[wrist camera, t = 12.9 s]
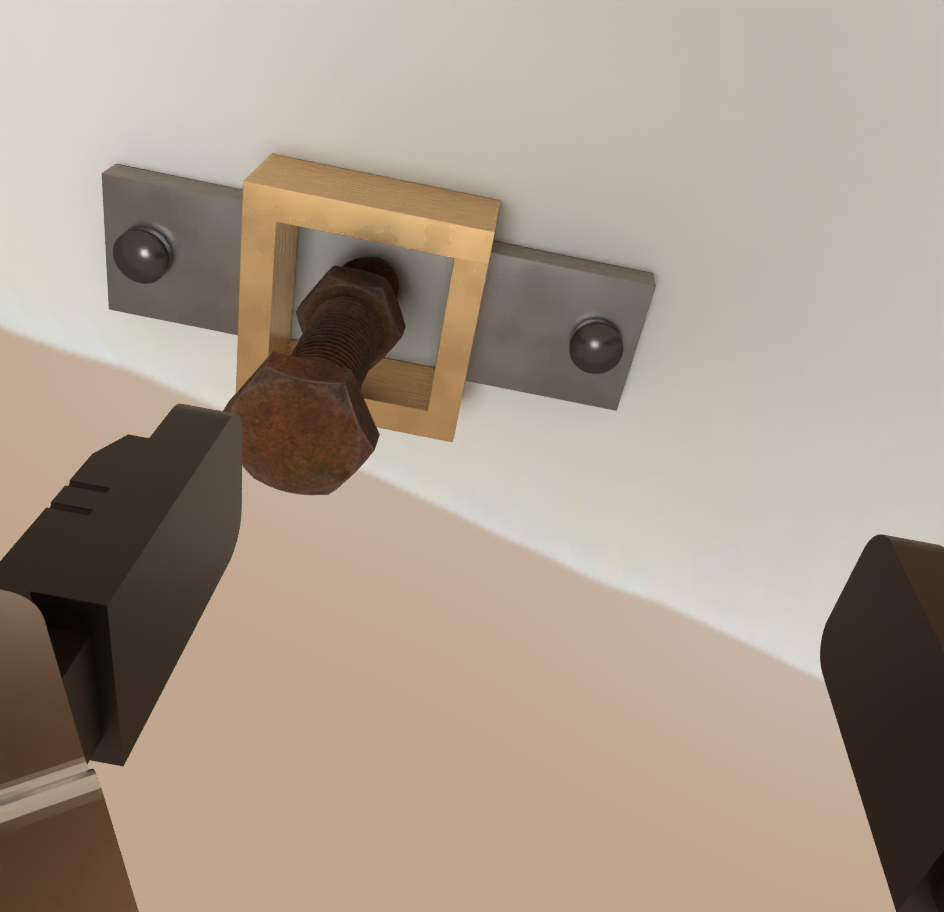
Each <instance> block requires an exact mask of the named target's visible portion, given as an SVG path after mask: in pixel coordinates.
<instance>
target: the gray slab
mask: <svg viewBox="0 0 944 912" xmlns="http://www.w3.org/2000/svg"><path fill="white" fill-rule="evenodd" d="M102 187H103V206H104V225H105V244H106V263H107V281H108V300H109V309H110V310H115V311H120V312H125V313H130V314H135V315H140V316H145V317H150V318H155V319H160V320H165V321H170V322H175V323H180V324H185V325H190V326H195V327H200V328H205V329H210V330H215V331H220V332H225V333H230V334H235V335H238V320H239V292H240V264H241V235H242V207H243V190H241V189H236V188H231V187H226V186H222V185H217V184H212V183H207V182H202V181H197V180H192V179H187V178H182V177H177V176H173V175H168V174H163V173H158V172H153V171H148V170H143V169H138V168H133V167H128V166H124V165H119V164H115V165H114V166H112V167H111V168H109V169H108V170H106V171H104V172H103V173H102Z"/></svg>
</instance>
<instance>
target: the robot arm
mask: <svg viewBox="0 0 944 912" xmlns="http://www.w3.org/2000/svg"><path fill="white" fill-rule="evenodd" d="M241 506H242V422H241V419H240V416H239V415H238V414H234V413H228V412H223V411H217V410H212V409H207V408H201V407H196V406H190V405H184V404H177V405H176V406H174V408H172V410H171V411H170V412H169V414H168V415H167V416H166V417H165V419H164V420H163V421H162V423H161V424H160V425H159V426H158V428H157V429H156V430H155V432H154V433H153V434H152V436H151V437H150V438H144V437H138V436H133V435H127V436H125V437H123V438H121V439H119V440H117V441H115V442H114V443H112V444H110V445H108V446H106V447H104V448H103V449H101V450H99V451H97V452H95V453H93V454H92V455H91V456H90V457H89V458H88V460H87V461H86V462H85V463H84V464H83V466H82V467H81V468H80V469H79V470H78V471H77V472H76V474H75V475H74V476H73V477H72V478H71V479H70V483H69V486H64V488H63V489H62V490H61V491H60V492H59V493H58V495H57V496H56V497H55V498H54V499H53V501H52V502H51V507H50V508H46V509H45V510H44V511H43V512H42V513H41V514H40V516H39V517H38V518H37V519H36V520H35V521H34V523H33V524H32V525H31V526H30V527H29V529H27V531H26V532H25V533H24V534H23V535H22V536H21V538H20V539H19V540H18V541H17V542H16V543H15V545H14V546H13V547H12V548H11V549H10V551H9V552H8V553H7V554H6V555H5V556H4V557H3V559H2V560H1V561H0V912H139V911H138V908H137V905H136V901H135V898H134V895H133V891H132V888H131V885H130V881H129V878H128V875H127V871H126V868H125V865H124V861H123V858H122V855H121V851H120V848H119V845H118V841H117V838H116V835H115V831H114V828H113V825H112V821H111V818H110V815H109V811H108V808H107V805H106V801H105V798H104V795H103V792H102V788H101V786H100V783H99V780H98V777H97V775H96V773H95V770H94V769H90V770H89V769H88V766H87V764H88V762H89V761H90V760H92V761H97V762H102V763H109V764H114V765H119V766H124V764H125V762H126V760H127V758H128V757H129V755H130V753H131V751H132V749H133V747H134V745H135V743H136V741H137V739H138V737H139V735H140V733H141V731H142V730H143V728H144V726H145V724H146V722H147V720H148V718H149V716H150V714H151V712H152V710H153V708H154V706H155V704H156V702H157V701H158V699H159V696H160V695H161V693H162V691H163V689H164V687H165V685H166V683H167V681H168V679H169V677H170V675H171V673H172V672H173V669H174V668H175V666H176V664H177V662H178V660H179V658H180V656H181V654H182V652H183V650H184V648H185V646H186V644H187V642H188V640H189V639H190V637H191V635H192V633H193V631H194V629H195V627H196V625H197V623H198V621H199V619H200V618H201V616H202V613H203V612H204V610H205V608H206V606H207V604H208V602H209V600H210V598H211V596H212V594H213V592H214V591H215V589H216V587H217V585H218V583H219V581H220V579H221V577H222V575H223V573H224V571H225V569H226V567H227V565H228V563H229V561H230V559H231V557H232V554H233V552H234V548H235V545H236V542H237V538H238V534H239V529H240V521H241V509H242V507H241ZM820 663H821V669H822V673H823V677H824V680H825V683H826V686H827V690H828V693H829V696H830V699H831V703H832V706H833V709H834V712H835V715H836V719H837V722H838V725H839V728H840V732H841V735H842V738H843V741H844V744H845V748H846V751H847V754H848V758H849V761H850V764H851V767H852V770H853V774H854V777H855V780H856V783H857V787H858V790H859V793H860V796H861V800H862V803H863V806H864V809H865V812H866V815H867V819H868V822H869V825H870V828H871V832H872V835H873V838H874V841H875V845H876V848H877V851H878V854H879V857H880V861H881V864H882V867H883V870H884V874H885V877H886V880H887V883H888V887H889V890H890V893H891V896H892V900H893V903H894V906H895V909H896V912H944V547H943V546H940V545H936V544H931V543H925V542H920V541H915V540H909V539H904V538H898V537H893V536H887V535H881V534H880V535H876V536H874V537H873V538H872V539H871V540H870V541H869V542H868V543H867V545H866V546H865V548H864V550H863V552H862V554H861V556H860V558H859V559H858V561H857V563H856V565H855V567H854V569H853V571H852V573H851V575H850V577H849V579H848V581H847V583H846V585H845V587H844V589H843V591H842V593H841V595H840V597H839V599H838V601H837V603H836V605H835V607H834V608H833V610H832V612H831V614H830V616H829V618H828V620H827V623H826V625H825V628H824V631H823V635H822V640H821V648H820Z"/></svg>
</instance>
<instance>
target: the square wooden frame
mask: <svg viewBox="0 0 944 912" xmlns="http://www.w3.org/2000/svg"><path fill="white" fill-rule="evenodd" d="M499 207H500V201H499V200H494V199H489V198H485V197H480V196H475V195H470V194H465V193H460V192H455V191H450V190H446V189H441V188H436V187H431V186H426V185H421V184H416V183H412V182H407V181H402V180H397V179H392V178H387V177H382V176H377V175H373V174H368V173H363V172H358V171H353V170H348V169H343V168H338V167H334V166H329V165H324V164H319V163H314V162H309V161H304V160H300V159H295V158H290V157H285V156H280V155H275V154H271V155H270V156H269V157H268V158H267V159H266V160H265V161H264V162H263V163H262V164H261V165H260V166H259V167H258V168H257V169H256V170H254V171H253V172H252V173H251V174H250V175H249V176H248V177H247V178H246V179H245V180H244V181H243V207H242V235H241V264H240V292H239V320H238V349H237V377H236V393H237V392H238V390H239V389H240V388H241V387H242V386H243V385H244V384H245V382H246V381H247V380H248V379H249V378H250V377H251V376H252V374H253V373H254V372H255V371H256V370H257V369H258V368H259V366H260V365H261V364H262V363H263V362H264V361H265V360H266V358H267V357H268V356H269V355H270V354H271V353H272V352H273V351H274V352H278V353H282V354H287V355H291V354H292V352H293V350H294V348H295V346H296V345H297V344H298V342H299V341H297V340H292V339H291V325H292V311H293V297H294V283H295V269H296V255H297V242H298V228H299V226H300V227H305V228H310V229H315V230H319V231H324V232H329V233H334V234H339V235H344V236H349V237H354V238H359V239H364V240H369V241H374V242H378V243H383V244H388V245H393V246H398V247H403V248H408V249H413V250H418V251H423V252H428V253H433V254H438V255H442V256H447V257H452V258H455V260H454V266H453V271H452V277H451V283H450V288H449V294H448V300H447V305H446V311H445V317H444V322H443V328H442V334H441V339H440V345H439V351H438V356H437V362H436V368H432V367H427V366H422V365H417V364H412V363H407V362H402V361H397V360H392V359H387V358H383V359H382V360H381V361H380V362H379V363H377V364H376V365H375V366H374V367H373V368H372V369H370V370H369V371H368V373H367V376H366V378H365V380H364V381H363V384H362V388H361V393H362V395H363V398H364V400H365V402H366V404H367V407H368V409H369V411H370V414H371V416H372V418H373V420H374V423H375V425H376V427H378V428H383V429H388V430H393V431H398V432H403V433H408V434H413V435H418V436H424V437H429V438H434V439H439V440H444V441H449V442H453V439H454V434H455V429H456V424H457V419H458V414H459V409H460V404H461V399H462V394H463V389H464V384H465V379H466V374H467V369H468V364H469V359H470V354H471V349H472V344H473V338H474V333H475V328H476V323H477V318H478V313H479V308H480V303H481V298H482V293H483V288H484V283H485V278H486V273H487V268H488V263H489V258H490V253H491V248H492V243H493V238H494V233H495V228H496V222H497V217H498V212H499Z"/></svg>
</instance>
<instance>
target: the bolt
mask: <svg viewBox="0 0 944 912" xmlns="http://www.w3.org/2000/svg"><path fill="white" fill-rule="evenodd" d="M385 266H387V264H386V263H384V262H383V261H381V260H379V259H377V258H369V259H365V258H364V259H355V260H353V261H350V262H348V263H346V264H345V265H344V266H343V267H339V266H333V267H332V268H331V269H330V270H329V271H328V272H327V273H326V274H325V275H324V277H323V278H322V279H321V280H320V281H319V282H318V283H317V285H316V286H315V287H314V288H313V289H312V290H311V292H310V293H309V294H308V295H307V297H306V298H305V299H304V300H303V301H302V303H301V304H300V306H299V308H298V309H297V311H296V314H297V318H298V321H299V325H300V328H301V330H302V333H303V334H302V336H301V338H300V339H299V342H298V344H297V345H296V346H295V348H294V350H293V352H292V354H291V355H287V354H282V353H278V352H274V351H273V352H272V353H271V354H270V355H269V356H268V357H267V358H266V360H265V361H264V362H263V363H262V364H261V365H260V366H259V368H258V369H257V370H256V371H255V372H254V373H253V374H252V376H251V377H250V378H249V379H248V380H247V381H246V382H245V384H244V385H243V386H242V387H241V388H240V389H239V390H238V392H237V393H236V394H235V395H234V396H233V397H232V398H231V400H230V401H229V402H228V404H227V405H226V407H225V409H224V410H223V412H228V413H234V414H238V415H239V416H240V419H241V422H242V466H243V467H244V468H245V469H246V470H247V472H249V474H250V475H251V476H252V477H253V478H254V479H256V480H258V481H260V482H262V483H264V484H266V485H268V486H270V487H273V488H275V489H278V490H281V491H285V492H290V493H295V494H303V495H328V494H330V493H331V492H333V491H335V490H336V489H337V488H338V487H340V486H341V485H342V484H343V483H344V482H345V481H346V480H348V479H349V478H350V477H351V476H352V475H353V474H354V473H355V472H356V471H357V470H358V469H359V468H360V467H361V466H362V465H363V463H364V462H365V461H366V460H367V459H368V457H369V456H370V455H371V454H372V453H373V451H374V450H375V447H376V444H377V441H378V438H379V435H380V434H379V432H378V430H377V427H376V425H375V423H374V420H373V418H372V416H371V414H370V411H369V409H368V407H367V404H366V402H365V400H364V398H363V395H362V393H361V388H362V384H363V381H364V380H365V378H366V376H367V373H368V371H369V370H370V369H372V368H373V367H374V366H375V365H376V364H377V363H379V362H380V361H381V360H382V359H383V358H384V357H385V356H386V354H387V353H388V352H389V351H390V350H391V349H392V348H393V347H394V346H395V344H396V343H397V342H398V341H399V340H400V338H401V337H402V335H403V332H404V329H405V323H404V319H403V316H402V312H401V309H400V306H399V303H398V301H397V295H398V290H399V286H398V280H397V277H396V275H395V273H394V272H393V270H392V269H390V270H389V269H388V268H386V269H384V268H385Z"/></svg>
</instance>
